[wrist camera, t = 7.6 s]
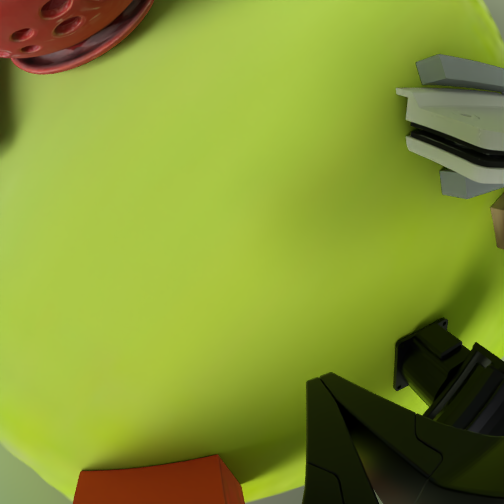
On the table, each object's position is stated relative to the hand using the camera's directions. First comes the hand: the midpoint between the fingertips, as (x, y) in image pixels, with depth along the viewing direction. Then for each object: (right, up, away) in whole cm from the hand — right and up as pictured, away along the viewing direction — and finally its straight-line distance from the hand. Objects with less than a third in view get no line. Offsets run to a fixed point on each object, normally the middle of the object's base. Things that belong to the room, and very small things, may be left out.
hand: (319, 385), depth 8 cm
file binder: (-13, -22, +16) cm, 30 cm away
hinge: (+17, +15, +12) cm, 26 cm away
